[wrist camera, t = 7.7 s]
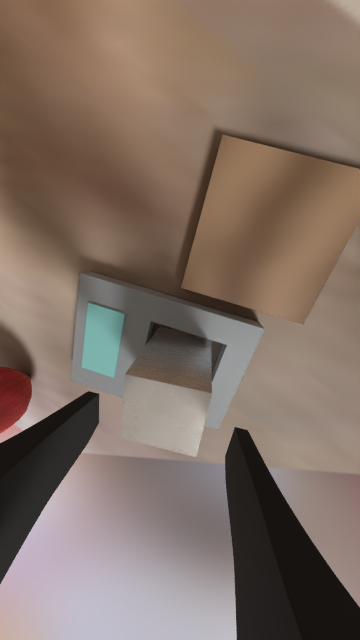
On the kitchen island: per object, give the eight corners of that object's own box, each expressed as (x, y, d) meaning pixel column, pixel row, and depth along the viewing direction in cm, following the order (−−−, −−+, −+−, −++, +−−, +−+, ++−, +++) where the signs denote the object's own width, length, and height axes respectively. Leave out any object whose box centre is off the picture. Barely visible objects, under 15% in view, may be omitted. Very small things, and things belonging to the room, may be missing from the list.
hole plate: (259, 322, 15) (265, 330, 13) (217, 416, 18) (217, 431, 16) (91, 271, 15) (77, 272, 14) (81, 371, 19) (69, 381, 17)
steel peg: (210, 336, 16) (212, 393, 9) (201, 380, 17) (196, 457, 10) (159, 326, 16) (124, 374, 9) (154, 370, 17) (121, 437, 11)
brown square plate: (368, 182, 11) (383, 174, 10) (297, 320, 14) (303, 324, 13) (221, 144, 12) (222, 134, 11) (182, 286, 15) (180, 287, 14)
